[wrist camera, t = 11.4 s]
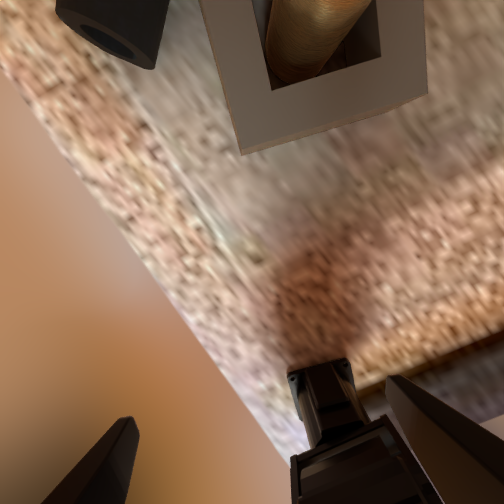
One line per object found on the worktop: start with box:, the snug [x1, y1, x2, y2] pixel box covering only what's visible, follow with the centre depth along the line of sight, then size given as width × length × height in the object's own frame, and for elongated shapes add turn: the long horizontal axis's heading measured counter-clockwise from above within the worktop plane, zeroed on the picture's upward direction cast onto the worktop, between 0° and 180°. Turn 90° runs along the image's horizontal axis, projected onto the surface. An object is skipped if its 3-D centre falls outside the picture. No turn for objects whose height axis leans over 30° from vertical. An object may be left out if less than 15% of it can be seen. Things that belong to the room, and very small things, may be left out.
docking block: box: [198, 0, 428, 156], centre depth 14 cm, size 11×11×4 cm
